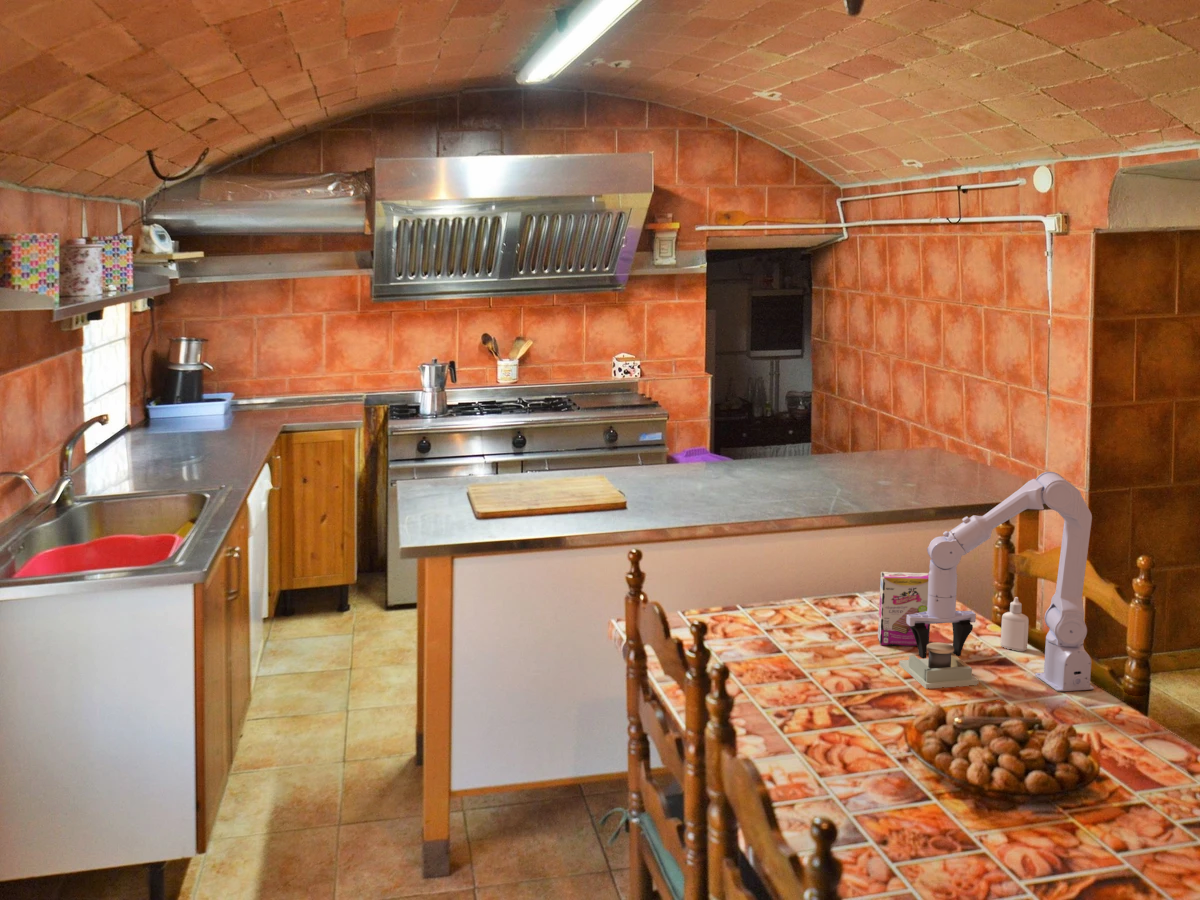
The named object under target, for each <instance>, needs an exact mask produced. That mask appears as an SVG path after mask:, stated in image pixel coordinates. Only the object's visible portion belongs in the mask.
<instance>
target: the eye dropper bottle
mask: <svg viewBox="0 0 1200 900" xmlns="http://www.w3.org/2000/svg"><path fill="white" fill-rule="evenodd" d="M1009 605H1010V606H1009V611H1007V612H1004V613H1003V614H1002V616H1001V624H1000V625H1001V627H1000V629H1001V630H1000V644H999V645H1000V647H1001V646H1002V647H1001V648H1003V647H1004V648H1003V649H1006V648H1007V649H1006V650H1009V649H1012V650H1011V651H1014V650H1019V651H1018V652H1025V651H1026V650H1028V641H1029V640H1028V639H1029V617H1028V616H1027V615H1026V614H1024V613H1022V603H1021V602H1020V601H1019V597H1018V596H1015V597H1014V599H1013V601H1011V602H1010V604H1009Z"/></svg>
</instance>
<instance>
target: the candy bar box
mask: <svg viewBox="0 0 1200 900" xmlns="http://www.w3.org/2000/svg"><path fill="white" fill-rule="evenodd" d="M879 577H880V578H879V579H880V580H879V581H880V586H879V598H878V599H879V600H878V601H879V603H878V604H879V606H878V624H877V640H878V642H879V644H880V646H896V647H897V646H901V647H902V646H905V647H906V646H907V647H910V646H911V647H917V643H916V640H915V637H914V634H913V632H912V630H911V628H910V626H909V625H908V624H907V623H906V619H907V615H909V614H916V613H920V612H925V611H927V605H928V579H929V572H903V571H902V572H900V571H880V576H879ZM925 626H926V629H928V630H929V635H928V639H927V644H929V643H930V632H931V631H930V628H931V624H925Z"/></svg>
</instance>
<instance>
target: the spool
mask: <svg viewBox="0 0 1200 900" xmlns="http://www.w3.org/2000/svg"><path fill="white" fill-rule="evenodd" d="M927 651H928V658H929V659H928V658H927V659H928V667H929V668H930V669H933V668H948V667H951V653H953V652H954V647H953V644H949V643H945V642H929V644H927Z"/></svg>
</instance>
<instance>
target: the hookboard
mask: <svg viewBox="0 0 1200 900" xmlns="http://www.w3.org/2000/svg"><path fill="white" fill-rule="evenodd" d="M928 659H929V657H928V658H924V659H923V658H918V657H917V656H916V655H909V656H908V659H899V660H898V665H899V666H900V667H901V668H902V669H903V670H904V671H905V672H906V673H907V674H909V675H910V676H911V677H912V678H913V679H914V680H916V681H917V682H918V683H919V684H920V685H921V686H922V687H923V688H925V690H927V689H928V688H929V689H941V688H942V687H944V688H956V686H959V687H970V686H969V685H974V686H978V685H979V682H980V681H979V679H977V678H976V677H975V676H974V675H973V668H972V667H971V666H970V665H969V664H967V663H966V662H965V661H964V660H962V659H961V658H959V656H956V655H955V654H954V653H951V667H948V668H933V669H930V668H929V667H928ZM977 684H978V685H977ZM942 689H943V688H942Z"/></svg>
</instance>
